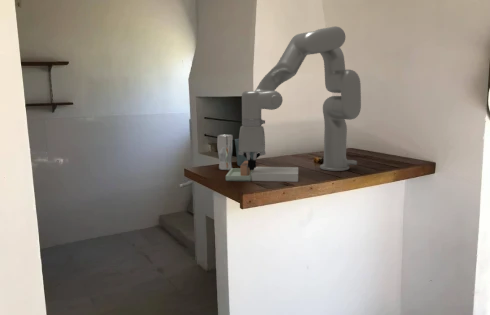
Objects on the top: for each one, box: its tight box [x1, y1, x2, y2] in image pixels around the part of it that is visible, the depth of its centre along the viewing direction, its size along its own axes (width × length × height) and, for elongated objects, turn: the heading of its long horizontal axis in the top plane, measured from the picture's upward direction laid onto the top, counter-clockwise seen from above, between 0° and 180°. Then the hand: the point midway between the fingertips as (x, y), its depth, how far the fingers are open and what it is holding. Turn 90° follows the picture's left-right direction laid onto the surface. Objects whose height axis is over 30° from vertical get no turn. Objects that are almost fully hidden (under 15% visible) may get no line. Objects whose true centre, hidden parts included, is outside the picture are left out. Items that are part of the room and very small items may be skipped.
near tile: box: [239, 163, 249, 176], centre depth 167 cm, size 5×5×2 cm
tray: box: [225, 167, 253, 182], centre depth 170 cm, size 10×15×2 cm, turn 173°
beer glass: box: [216, 134, 234, 171], centre depth 186 cm, size 7×7×15 cm
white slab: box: [251, 166, 299, 183], centre depth 168 cm, size 18×13×3 cm
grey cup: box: [234, 138, 254, 167], centre depth 195 cm, size 10×10×12 cm
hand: (251, 169), depth 166 cm, fingers closed
